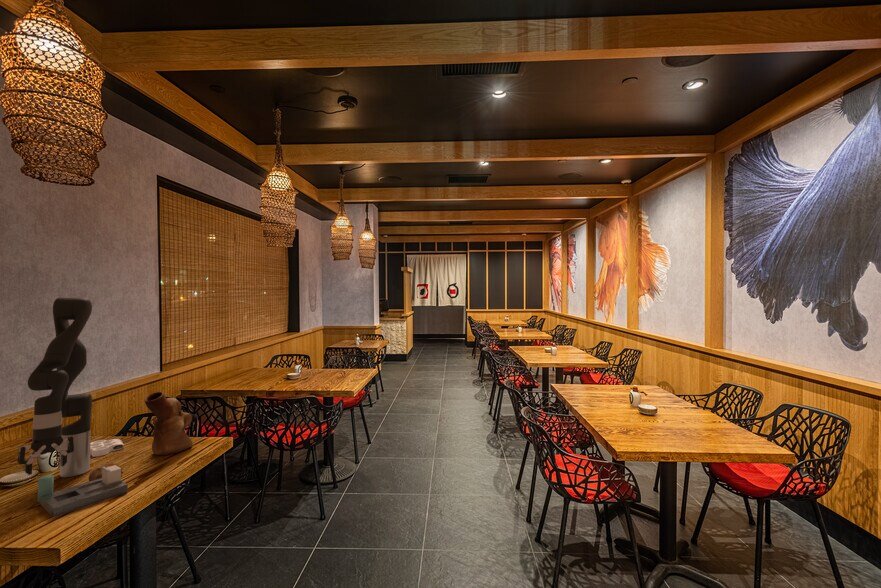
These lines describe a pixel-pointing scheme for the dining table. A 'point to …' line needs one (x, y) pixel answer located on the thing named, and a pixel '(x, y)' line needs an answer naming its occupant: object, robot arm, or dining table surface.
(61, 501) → the housing
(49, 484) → the peg
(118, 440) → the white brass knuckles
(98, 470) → the bread roll
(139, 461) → the dining table surface
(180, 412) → the ceramic vessel
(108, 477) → the block
